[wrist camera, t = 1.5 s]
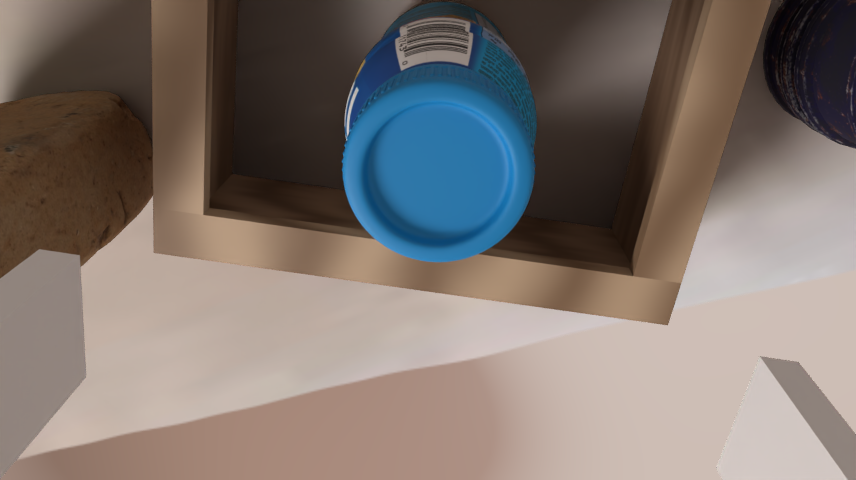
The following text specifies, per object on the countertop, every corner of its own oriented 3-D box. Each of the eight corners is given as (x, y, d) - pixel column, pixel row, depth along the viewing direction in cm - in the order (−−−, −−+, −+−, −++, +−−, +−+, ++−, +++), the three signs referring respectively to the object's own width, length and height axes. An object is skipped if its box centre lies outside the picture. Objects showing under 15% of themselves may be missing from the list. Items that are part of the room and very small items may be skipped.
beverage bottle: (543, 56, 42) (615, 152, 24) (456, 167, 45) (462, 329, 27) (427, -34, 40) (408, -6, 22) (344, 87, 43) (267, 202, 25)
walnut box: (212, 188, 46) (153, 252, 37) (221, -142, 38) (149, -166, 29) (624, 248, 47) (667, 325, 38) (711, -65, 39) (791, -64, 30)
